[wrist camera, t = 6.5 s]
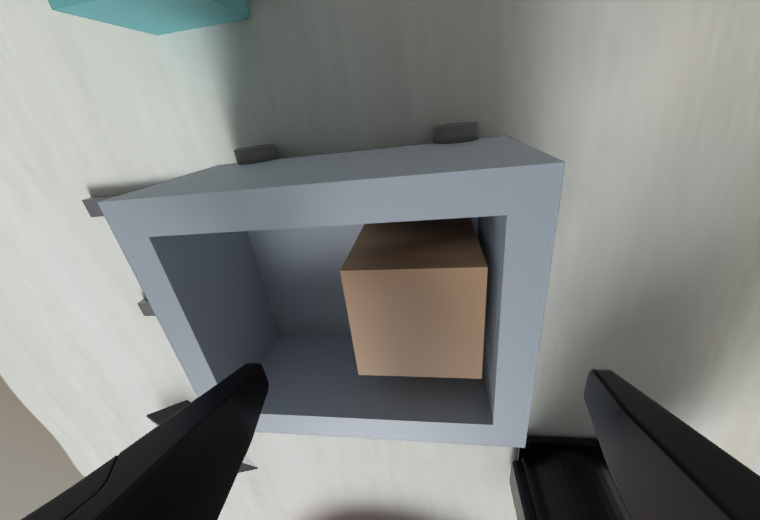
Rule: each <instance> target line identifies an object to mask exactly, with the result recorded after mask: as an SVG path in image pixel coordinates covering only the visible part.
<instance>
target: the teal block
mask: <svg viewBox="0 0 760 520" xmlns="http://www.w3.org/2000/svg"><path fill="white" fill-rule="evenodd" d="M48 2H49V4H50V6H51V8H52V10H55V11H59V12H63V13H67V14H71V15H76V16H80V17H84V18H88V19H92V20H96V21H100V22H104V23H109V24H113V25H117V26H121V27H125V28H129V29H133V30H138V31H142V32H146V33H150V34H154V35H162V34H168V33H173V32H178V31H184V30H189V29H195V28H200V27H205V26H211V25H216V24H221V23H227V22H232V21H237V20H243V19H248V18H250V14H249V10H248V6H247V2H246V0H48Z"/></svg>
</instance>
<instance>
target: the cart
mask: <svg viewBox="0 0 760 520" xmlns="http://www.w3.org/2000/svg"><path fill="white" fill-rule="evenodd" d="M433 137H434V143H430V144H420V145H410V146H401V147H391V148H381V149H371V150H361V151H352V152H342V153H332V154H322V155H312V156H303V157H293V158H283V159H278V157H277V153H276V149H275V145H274V144H267V145H258V146H251V147H245V148H240V149H236V150H234V153H235V156H236V160H237V163H234V164H224V165H217V166H214V167H211V168H207V169H204V170H201V171H198V172H194V173H191V174H188V175H184V176H181V177H178V178H175V179H171V180H168V181H165V182H162V183H158V184H155V185H152V186H149V187H145V188H142V189H139V190H136V191H132V192H129V193H126V194H122V195H119V196H116V197H113V198H109V199H106V200H103V201H100V202H97V203H98V205H99V207H100V209H101V211H102V212H103V214H104V216H105V218H106V220H107V222H108V224H109V226H110V228H111V230H112V232H113V234H114V236H115V238H116V240H117V241H118V243H119V245H120V247H121V249H122V251H123V253H124V255H125V257H126V259H127V261H128V263H129V265H130V267H131V269H132V271H133V272H134V274H135V276H136V278H137V280H138V282H139V284H140V286H141V288H142V290H143V292H144V294H145V296H146V298H147V300H148V301H149V303H150V305H151V307H152V309H153V311H154V313H155V315H156V317H157V319H158V321H159V323H160V325H161V327H162V329H163V330H164V332H165V334H166V336H167V338H168V340H169V342H170V344H171V346H172V348H173V350H174V352H175V354H176V356H177V358H178V360H179V361H180V363H181V365H182V367H183V369H184V371H185V373H186V375H187V377H188V379H189V381H190V383H191V385H192V387H193V389H194V390H195V392H196V394H197V396H198V397H200V396H201V395H202V394H204V393H205V392H207V391H208V390H210V389H211V388H212V387H214V386H215V385H217V384H218V383H219V382H221V381H222V380H224V379H225V378H226V377H228V376H229V375H231V374H232V373H233V372H235V371H236V370H238V369H239V368H241V367H242V366H243V365H245V364H247V363H260V364H261V365H262V366H263V368H264V371H265V374H266V376H267V379H268V382H269V389H268V393H267V396H266V399H265V402H264V405H263V408H262V411H261V414H260V417H259V420H258V423H257V426H256V429H255V432H265V433H282V434H299V435H316V436H333V437H350V438H366V439H383V440H400V441H417V442H434V443H451V444H467V445H484V446H501V447H518V448H525V445H526V438H527V431H528V424H529V417H530V409H531V402H532V395H533V388H534V381H535V374H536V367H537V359H538V352H539V345H540V338H541V331H542V324H543V317H544V310H545V302H546V295H547V288H548V281H549V274H550V267H551V260H552V253H553V245H554V238H555V231H556V224H557V217H558V210H559V203H560V196H561V188H562V181H563V174H564V167H565V162H564V161H562V160H559V159H557V158H555V157H553V156H550V155H548V154H546V153H544V152H541V151H539V150H537V149H535V148H533V147H530V146H528V145H526V144H524V143H521V142H519V141H517V140H515V139H513V138H510V137H508V136H499V137H489V138H479V139H478V122H468V123H456V124H447V125H441V126H436V127H433ZM469 217H470V219H471V221H472V224H473V227H474V230H475V233H476V235H477V238H478V241H479V244H480V247H481V250H482V252H483V255H484V258H485V261H486V264H487V266H488V272H487V290H486V309H485V327H484V346H483V364H482V379H472V378H440V377H409V376H377V375H359V374H358V369H357V363H356V358H355V352H354V346H353V341H352V335H351V330H350V324H349V318H348V313H347V307H346V302H345V296H344V290H343V285H342V279H341V274H340V270H341V268H342V266H343V264H344V262H345V260H346V258H347V256H348V255H349V253H350V251H351V249H352V247H353V245H354V243H355V241H356V239H357V237H358V235H359V233H360V231H361V230H362V228H363V226H364V224H371V223H387V222H403V221H420V220H436V219H453V218H469Z"/></svg>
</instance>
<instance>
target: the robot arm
mask: <svg viewBox="0 0 760 520" xmlns="http://www.w3.org/2000/svg"><path fill="white" fill-rule="evenodd" d="M268 389H269V382H268V379H267V376H266V374H265V371H264V368H263V366H262V365H261V364H260V363H247V364H245V365H243V366H242V367H241V368H239V369H238V370H236V371H235V372H233V373H232V374H231V375H229V376H228V377H226V378H225V379H224V380H222V381H221V382H219V383H218V384H217V385H215V386H214V387H212V388H211V389H210V390H208V391H207V392H205V393H204V394H202V395H201V396H200V397H198V398H197V399H195V400H194V401H193V402H191V403H190V404H188V405H187V406H186V407H184V408H183V409H181V410H180V411H178V412H177V413H176V414H174V415H173V416H171V417H170V418H169V419H167V420H166V421H164V422H163V423H162V424H160V425H159V426H157V427H156V428H154V429H153V430H152V431H150V432H149V433H147V434H146V435H145V436H143V437H142V438H140V439H139V440H138V441H136V442H135V443H133V444H132V445H130V446H129V447H128V448H126V449H125V450H123V451H122V452H121V453H120V454H119V456H115V457H113V458H112V459H111V460H109V461H108V462H106V463H105V464H104V465H102V466H101V467H99V468H98V469H97V470H95V471H94V472H92V473H91V474H89V475H88V476H86V477H85V478H83V479H82V480H81V481H79V482H78V483H76V484H75V485H73V486H72V487H70V488H69V489H67V490H66V491H64V492H63V493H61V494H60V495H58V496H57V497H55V498H54V499H52V500H51V501H49V502H48V503H46V504H45V505H43V506H41V507H40V508H38V509H37V510H35V511H34V512H32V513H30V514H29V515H27V516H26V517H24V518H23V519H21V520H217V519H218V517H219V515H220V512H221V510H222V508H223V505H224V503H225V501H226V499H227V496H228V494H229V492H230V489H231V487H232V485H233V483H234V480H235V478H236V476H237V473H238V471H239V469H240V467H241V464H242V462H243V460H244V457H245V455H246V453H247V451H248V448H249V446H250V443H251V441H252V438H253V435H254V432H255V429H256V426H257V423H258V420H259V417H260V414H261V411H262V408H263V405H264V402H265V399H266V396H267V393H268ZM584 398H585V402H586V405H587V408H588V411H589V414H590V417H591V420H592V422H593V425H594V428H595V431H596V434H597V437H598V440H585V439H567V438H548V437H529V436H527V438H526V445H525V448H518V449H517V457H516V460H514V461H513V462H512V466H511V474H510V486H511V491H512V496H513V500H514V505H515V510H516V514H517V519H518V520H760V476H759V475H757V474H756V473H755V472H753V471H752V470H750V469H749V468H748V467H746V466H745V465H743V464H742V463H741V462H739V461H738V460H736V459H735V458H734V457H732V456H731V455H729V454H728V453H726V452H725V451H724V450H722V449H721V448H719V447H718V446H717V445H715V444H714V443H712V442H711V441H710V440H708V439H707V438H705V437H704V436H703V435H701V434H700V433H698V432H697V431H696V430H694V429H693V428H691V427H690V426H689V425H687V424H686V423H684V422H683V421H682V420H680V419H679V418H677V417H676V416H675V415H673V414H672V413H670V412H669V411H667V410H666V409H665V408H663V407H662V406H660V405H659V404H658V403H656V402H655V401H653V400H652V399H651V398H649V397H648V396H646V395H645V394H644V393H642V392H641V391H639V390H638V389H637V388H635V387H634V386H632V385H631V384H630V383H628V382H627V381H625V380H624V379H623V378H621V377H620V376H618V375H617V374H615V373H614V372H613V371H611V370H608V369H591V370H590V371H589V374H588V378H587V382H586V386H585V390H584Z"/></svg>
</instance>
